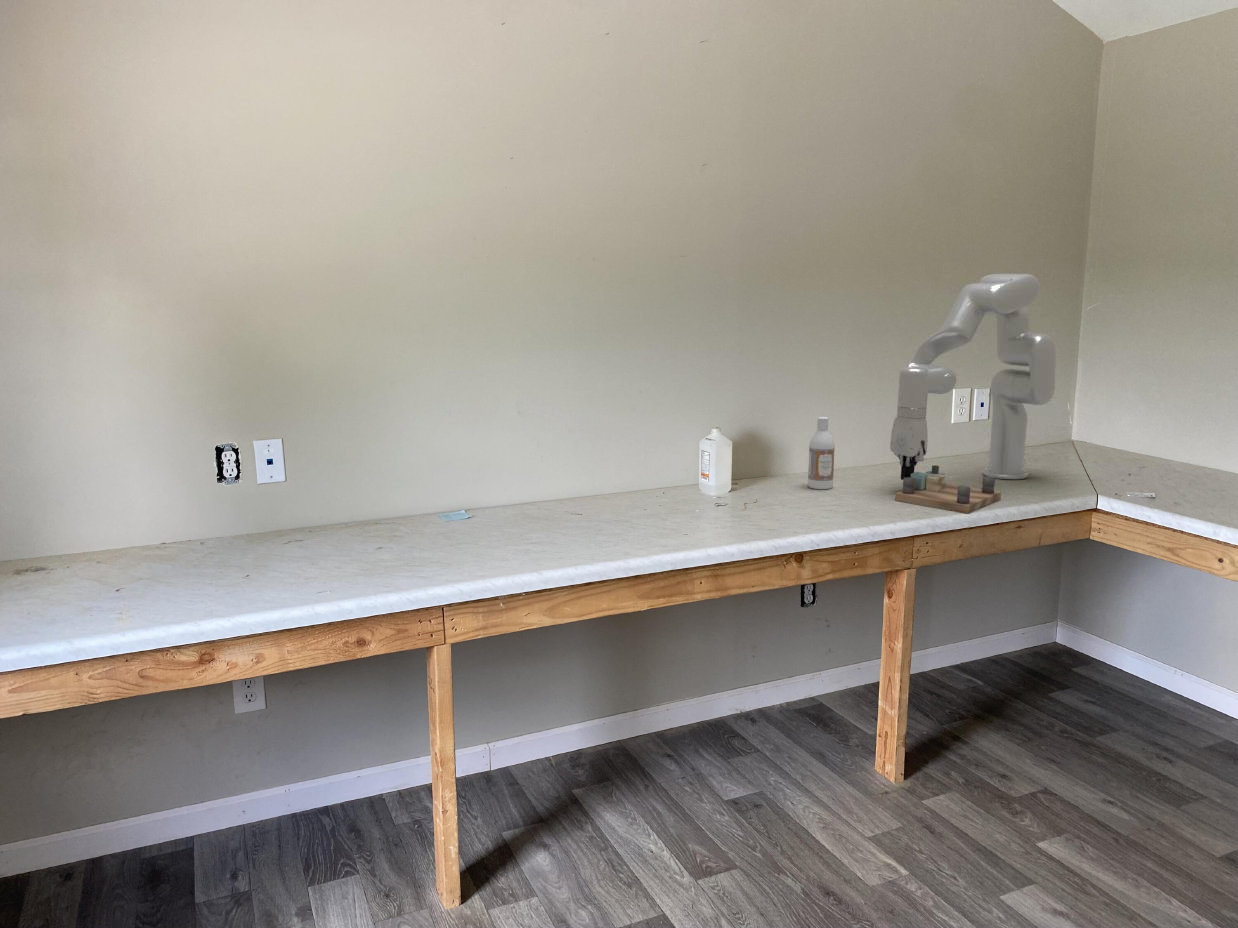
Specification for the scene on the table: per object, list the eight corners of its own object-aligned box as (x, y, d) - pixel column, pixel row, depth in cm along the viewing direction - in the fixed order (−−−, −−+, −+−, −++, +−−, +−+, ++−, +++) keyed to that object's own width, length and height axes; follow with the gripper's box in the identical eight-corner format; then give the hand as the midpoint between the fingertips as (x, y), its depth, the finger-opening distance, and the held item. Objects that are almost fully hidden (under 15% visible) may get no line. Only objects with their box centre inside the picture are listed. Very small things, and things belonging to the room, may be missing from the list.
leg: (929, 480, 256) (930, 466, 255) (944, 483, 253) (945, 469, 252) (908, 487, 248) (908, 473, 247) (923, 490, 245) (923, 475, 244)
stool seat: (929, 487, 258) (931, 463, 256) (1000, 499, 244) (1002, 473, 243) (894, 500, 244) (896, 474, 242) (967, 513, 230) (969, 486, 229)
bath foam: (812, 490, 256) (815, 419, 252) (804, 484, 263) (806, 416, 258) (836, 489, 257) (839, 419, 253) (827, 483, 264) (830, 415, 259)
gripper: (882, 410, 252) (878, 475, 256) (919, 418, 238) (914, 486, 242) (904, 409, 255) (900, 473, 258) (942, 416, 241) (937, 484, 245)
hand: (907, 479), depth 250 cm, fingers closed
